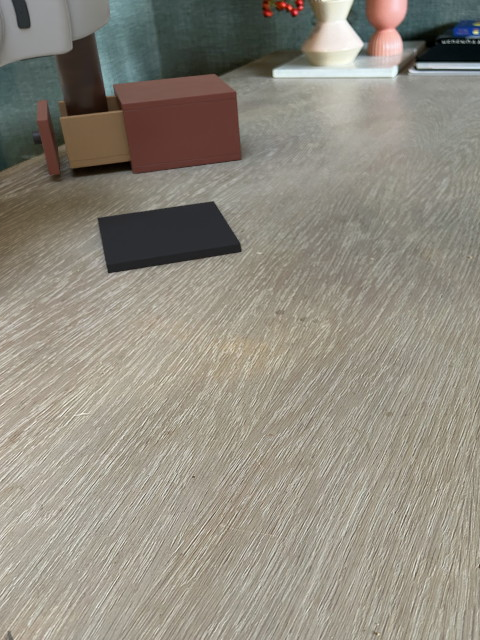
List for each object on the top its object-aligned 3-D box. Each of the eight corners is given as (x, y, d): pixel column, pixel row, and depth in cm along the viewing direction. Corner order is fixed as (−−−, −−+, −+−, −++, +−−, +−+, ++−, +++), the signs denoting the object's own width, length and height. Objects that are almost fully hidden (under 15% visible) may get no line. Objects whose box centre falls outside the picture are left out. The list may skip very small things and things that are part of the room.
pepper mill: (75, 155, 82) (35, -31, 71) (74, 145, 86) (36, -33, 75) (116, 150, 83) (83, -34, 72) (113, 140, 87) (81, -36, 76)
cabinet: (133, 173, 82) (121, 103, 77) (123, 147, 92) (112, 84, 87) (241, 159, 85) (236, 91, 80) (220, 135, 95) (214, 73, 90)
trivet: (108, 273, 58) (106, 264, 58) (98, 225, 68) (97, 217, 68) (241, 251, 61) (240, 243, 60) (214, 208, 71) (213, 200, 70)
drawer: (39, 177, 79) (25, 121, 76) (39, 151, 88) (27, 101, 85) (154, 162, 82) (146, 108, 79) (143, 139, 91) (135, 90, 88)
